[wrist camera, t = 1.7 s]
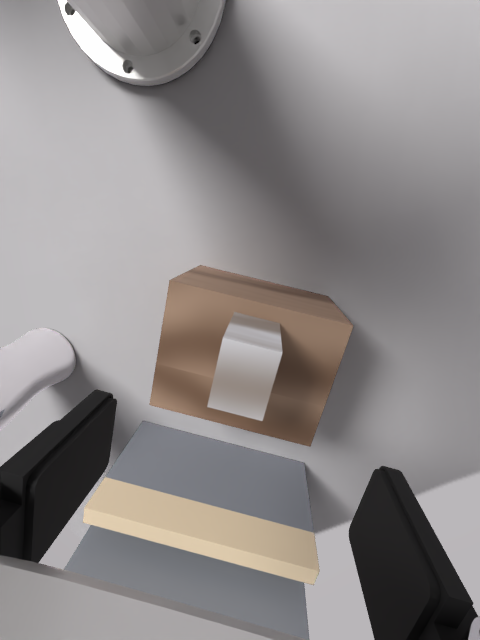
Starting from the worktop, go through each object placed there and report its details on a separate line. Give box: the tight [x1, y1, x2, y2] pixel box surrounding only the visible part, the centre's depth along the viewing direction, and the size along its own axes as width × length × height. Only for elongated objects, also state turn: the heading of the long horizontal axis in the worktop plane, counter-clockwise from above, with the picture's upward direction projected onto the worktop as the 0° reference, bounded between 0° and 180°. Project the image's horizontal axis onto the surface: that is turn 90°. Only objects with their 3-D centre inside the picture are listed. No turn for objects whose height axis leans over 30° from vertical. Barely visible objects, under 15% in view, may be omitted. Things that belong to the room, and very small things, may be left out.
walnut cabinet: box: [150, 265, 353, 446], centre depth 23 cm, size 9×12×14 cm
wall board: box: [64, 421, 319, 640], centre depth 24 cm, size 6×18×22 cm, turn 77°
